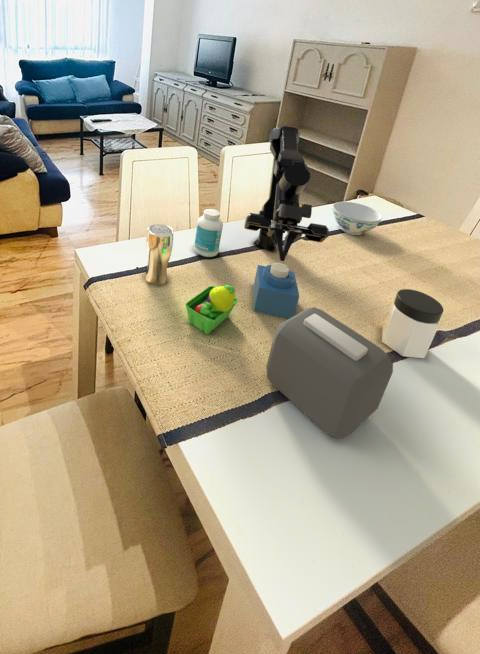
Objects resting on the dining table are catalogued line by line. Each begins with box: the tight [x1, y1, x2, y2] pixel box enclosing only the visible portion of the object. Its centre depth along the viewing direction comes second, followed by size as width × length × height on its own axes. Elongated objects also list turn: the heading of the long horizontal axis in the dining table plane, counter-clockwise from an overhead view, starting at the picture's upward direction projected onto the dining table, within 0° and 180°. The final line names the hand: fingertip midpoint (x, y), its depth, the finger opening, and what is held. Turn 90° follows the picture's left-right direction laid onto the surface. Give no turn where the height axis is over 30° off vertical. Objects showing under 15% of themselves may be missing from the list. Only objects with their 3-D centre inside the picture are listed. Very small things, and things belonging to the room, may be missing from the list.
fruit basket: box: [185, 284, 238, 335], centre depth 88 cm, size 11×9×11 cm
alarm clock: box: [265, 306, 394, 439], centre depth 69 cm, size 16×11×16 cm
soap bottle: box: [252, 264, 300, 320], centre depth 96 cm, size 10×9×9 cm
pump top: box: [270, 262, 290, 279], centre depth 94 cm, size 4×4×2 cm
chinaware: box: [332, 201, 383, 236], centre depth 135 cm, size 15×15×8 cm
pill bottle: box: [193, 208, 224, 258], centre depth 116 cm, size 8×7×14 cm
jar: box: [381, 288, 444, 359], centre depth 84 cm, size 9×8×12 cm
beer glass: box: [144, 223, 174, 286], centre depth 102 cm, size 7×7×15 cm
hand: (281, 260), depth 93 cm, fingers closed
